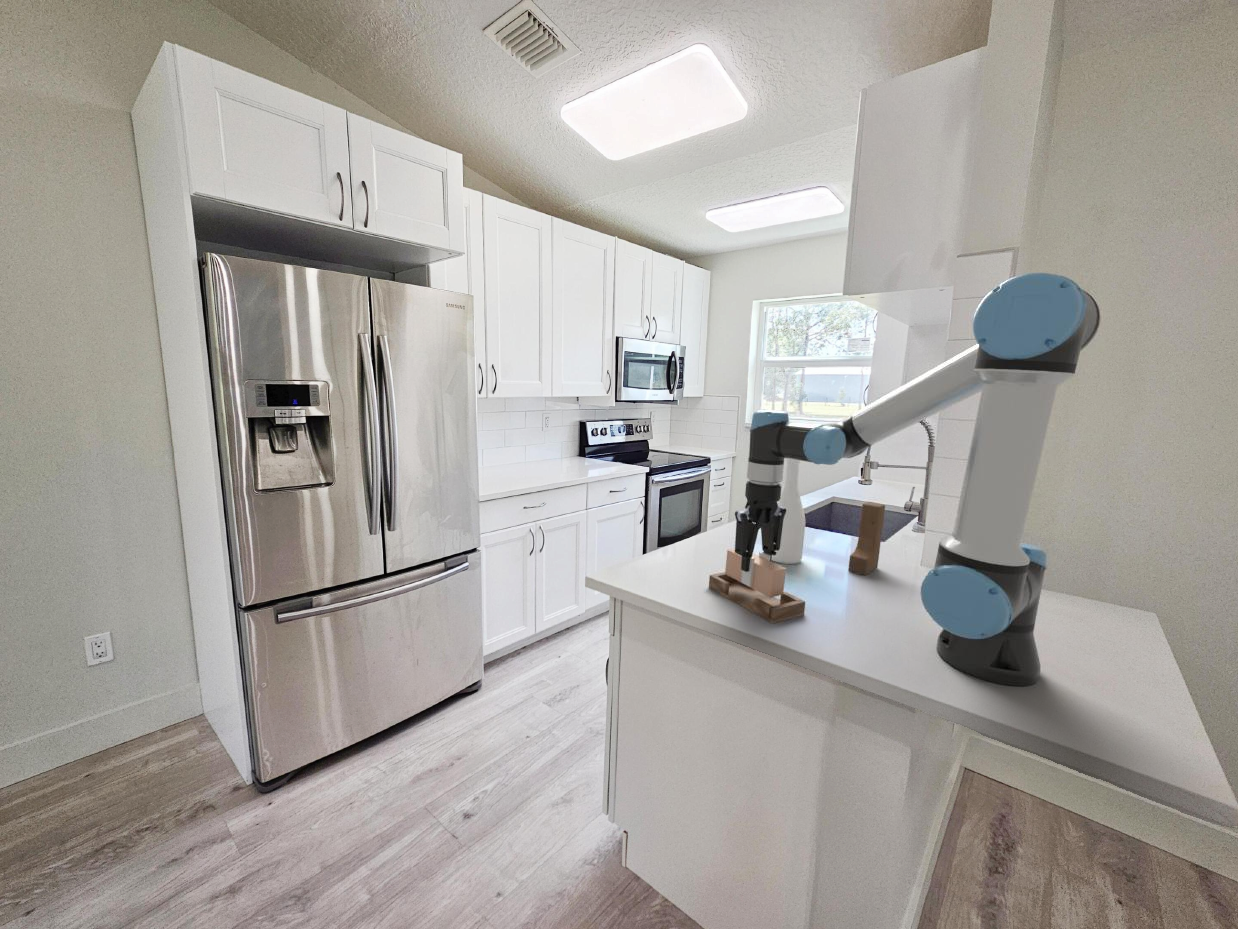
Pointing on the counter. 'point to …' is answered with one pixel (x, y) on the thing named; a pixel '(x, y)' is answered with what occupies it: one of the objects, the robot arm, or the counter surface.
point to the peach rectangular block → (758, 574)
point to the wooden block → (868, 539)
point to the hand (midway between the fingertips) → (754, 582)
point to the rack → (757, 599)
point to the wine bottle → (791, 518)
